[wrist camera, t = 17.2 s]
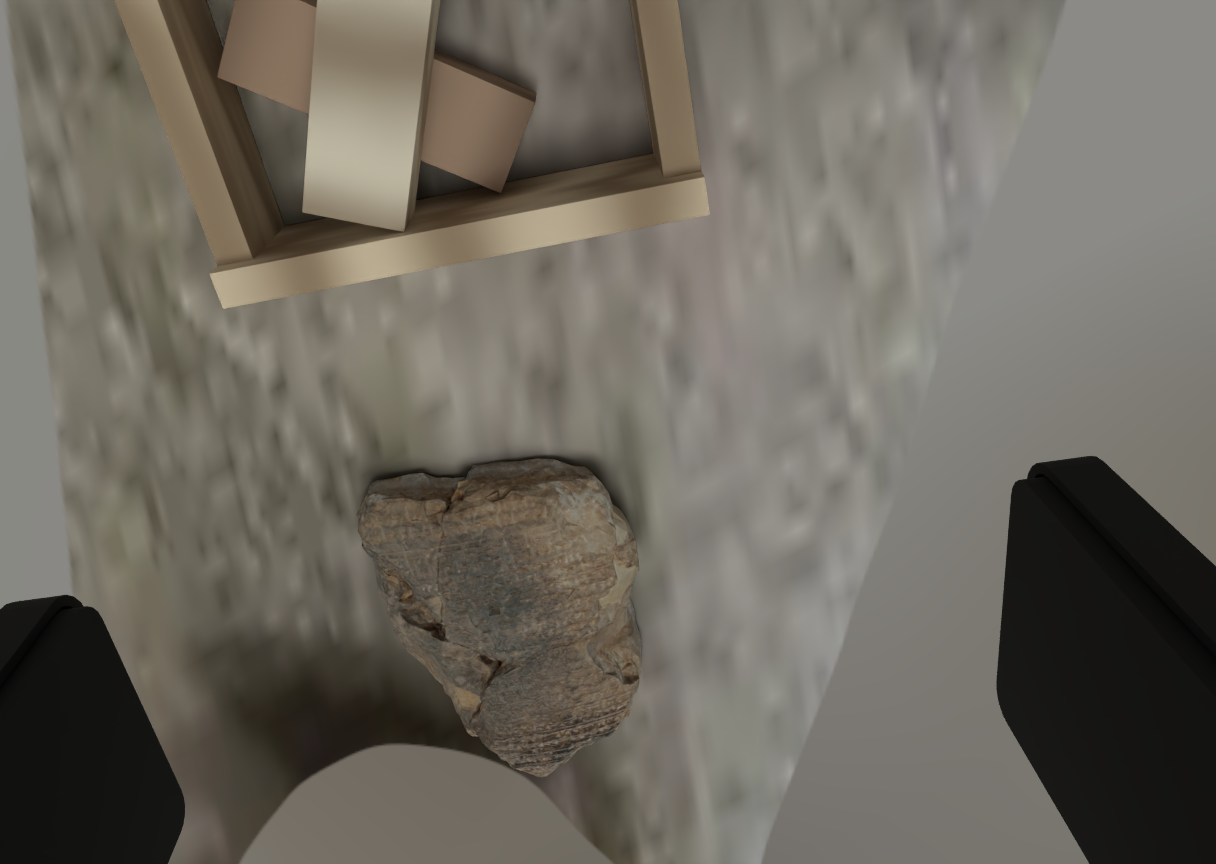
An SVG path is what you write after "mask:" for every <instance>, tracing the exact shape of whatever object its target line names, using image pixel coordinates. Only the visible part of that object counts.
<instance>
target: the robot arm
mask: <svg viewBox="0 0 1216 864" xmlns="http://www.w3.org/2000/svg"><path fill="white" fill-rule="evenodd" d="M997 695H998V700H999V705H1000V708H1001V710H1002V714H1003V716H1004V718H1005V720H1006V722H1007V724H1008V726H1009V727H1010V729H1011V731H1012V732H1013V734H1014V736H1015V737H1016V739H1017V741H1018V743H1019V744H1020V746H1021V747H1022V749H1023V751H1024V753H1025V754H1026V756H1027V758H1028V760H1029V761H1030V763H1031V764H1032V766H1033V768H1034V770H1035V771H1036V773H1037V775H1038V777H1039V778H1040V780H1041V782H1042V783H1043V785H1044V787H1045V788H1046V790H1047V792H1048V794H1049V795H1050V797H1051V799H1052V801H1053V802H1054V804H1055V805H1056V807H1057V809H1058V811H1059V812H1060V814H1061V816H1062V817H1063V819H1064V821H1065V823H1066V824H1067V826H1068V828H1069V830H1070V831H1071V833H1072V835H1073V836H1074V838H1075V840H1076V841H1077V843H1078V845H1079V847H1080V848H1081V850H1082V852H1083V853H1084V855H1085V857H1086V859H1087V860H1088V862H1089V864H1216V566H1215V565H1214V564H1213V563H1212V562H1211V561H1209V560H1208V559H1207V558H1206V557H1205V556H1204V555H1203V554H1202V553H1201V552H1200V551H1199V550H1198V549H1197V548H1196V547H1195V546H1193V545H1192V544H1191V543H1190V542H1189V541H1188V540H1187V539H1186V538H1185V537H1184V536H1183V535H1182V534H1180V532H1179V531H1177V530H1176V529H1175V528H1174V527H1173V526H1172V525H1171V524H1170V523H1169V522H1168V521H1167V520H1166V519H1165V518H1164V517H1162V516H1161V515H1160V514H1159V513H1158V512H1157V511H1156V510H1155V509H1154V508H1153V507H1152V506H1151V505H1149V504H1148V503H1147V502H1146V501H1145V500H1144V499H1143V498H1142V497H1141V496H1140V495H1139V494H1138V493H1137V492H1136V491H1134V489H1132V488H1131V487H1130V486H1129V485H1128V484H1127V483H1126V482H1125V481H1124V480H1123V479H1122V478H1121V477H1120V476H1119V475H1117V474H1116V473H1115V472H1114V471H1113V470H1112V469H1111V468H1110V467H1109V466H1108V465H1107V464H1106V463H1105V462H1103V461H1102V460H1101V459H1099V458H1098V457H1095V456H1086V457H1079V458H1071V459H1065V460H1057V461H1049V462H1042V463H1036V464H1035V465H1033V466H1032V468H1031V469H1030V471H1029V473H1028V477H1027V479H1023V480H1018V481H1017V482H1015V484H1014V486H1013V488H1012V494H1011V504H1010V518H1009V529H1008V543H1007V555H1006V568H1005V581H1004V593H1003V606H1002V618H1001V631H1000V644H999V657H998V670H997ZM184 817H185V803H184V797H183V794H182V791H181V788H180V786H179V784H178V782H177V780H176V777H175V775H174V773H173V771H172V769H171V767H170V764H169V762H168V760H167V758H166V756H165V754H164V751H163V749H162V747H161V745H160V743H159V741H158V738H157V736H156V734H155V732H154V730H153V728H152V725H151V723H150V721H149V719H148V717H147V715H146V712H145V710H144V708H143V706H142V704H141V702H140V699H139V697H138V695H137V693H136V691H135V689H134V686H133V684H132V682H131V680H130V678H129V676H128V673H127V671H126V669H125V667H124V665H123V663H122V660H121V658H120V656H119V654H118V652H117V650H116V647H115V645H114V643H113V641H112V639H111V637H110V634H109V632H108V630H107V628H106V626H105V624H104V621H103V619H102V617H101V616H100V614H99V613H98V611H96V610H95V609H94V608H93V607H88V606H86V607H84V606H83V605H82V603H81V602H80V601H79V600H77V599H76V598H75V597H73V596H69V595H62V596H55V597H47V598H40V599H32V600H25V601H17V602H12V603H9V604H6V605H5V606H4V607H3V608H1V609H0V864H168V862H169V859H170V857H171V855H172V852H173V850H174V847H175V845H176V843H177V840H178V838H179V835H180V833H181V830H182V827H183V823H184Z"/></svg>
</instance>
